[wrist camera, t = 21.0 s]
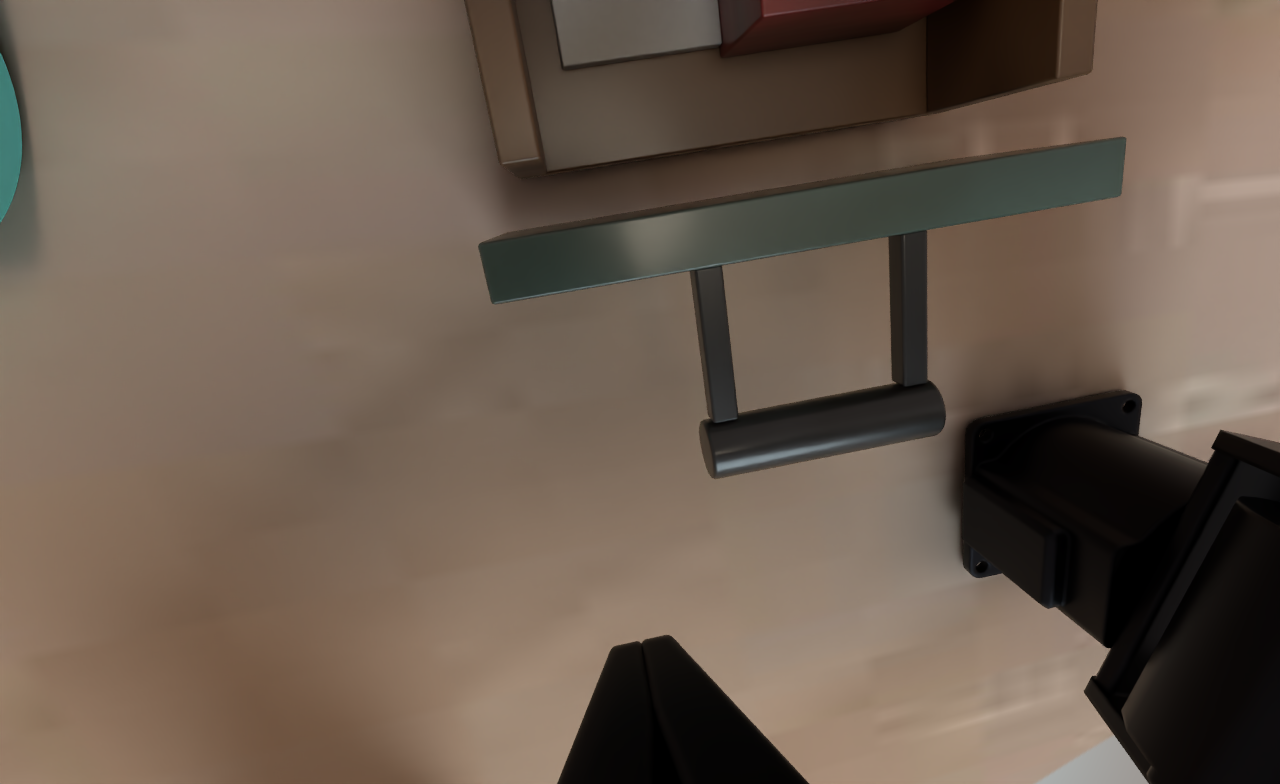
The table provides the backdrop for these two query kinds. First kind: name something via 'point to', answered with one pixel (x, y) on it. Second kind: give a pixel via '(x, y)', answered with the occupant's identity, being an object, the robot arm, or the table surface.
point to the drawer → (787, 216)
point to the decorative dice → (8, 140)
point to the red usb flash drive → (718, 25)
